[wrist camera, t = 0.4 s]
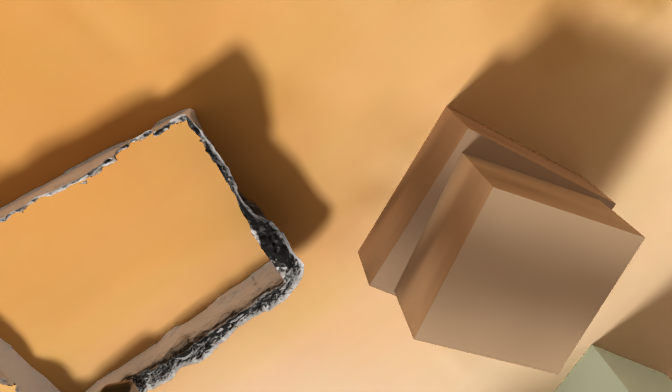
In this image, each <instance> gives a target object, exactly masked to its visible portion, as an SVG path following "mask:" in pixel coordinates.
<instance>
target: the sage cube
mask: <svg viewBox="0 0 672 392" xmlns="http://www.w3.org/2000/svg"><path fill="white" fill-rule="evenodd" d="M555 392H672V380H671V379H670V378H669V377H668V376H667V375H666V374H665V373H662V372H660V371H657V370H655V369H652V368H649V367H647V366H644V365H642V364H639V363H637V362H634V361H632V360H629V359H627V358H624V357H622V356H619V355H617V354H614V353H612V352H609V351H607V350H604V349H602V348H599V347H596V346H594V345H591V346H590V347H589V349H588V350H587V351H586V353H585V354H584V355H583V356H582V358H581V359H580V360H579V361H578V363H577V364H576V365H575V367H574V368H573V369H572V370H571V372H570V373H569V374H568V375H567V377H566V378H565V379H564V381H563V382H562V383H561V384H560V386H559V387H558V388H557V389H556V391H555Z"/></svg>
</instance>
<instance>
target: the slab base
mask: <svg viewBox="0 0 672 392" xmlns="http://www.w3.org/2000/svg"><path fill="white" fill-rule="evenodd" d="M461 153H465V154H468V155H471V156H474V157H477V158H480V159H483V160H486V161H489V162H491V163H494V164H497V165H500V166H503V167H506V168H509V169H512V170H515V171H518V172H521V173H523V174H526V175H529V176H532V177H535V178H538V179H541V180H544V181H547V182H550V183H552V184H555V185H558V186H561V187H564V188H567V189H570V190H573V191H576V192H579V193H581V194H584V195H587V196H590V197H593V198H596V199H599V200H600V201H601V202H603V203H604V204H605V205H606V206H607V207H609V208H610V209H611V210H612V208H613V207H614V206H615V203H614V202H613V201H612V200H611V199H609V198H608V197H607V196H606V195H604V194H603V193H602V192H601V191H599V190H598V189H597V188H596V187H594V186H593V185H592V184H591V183H589V182H588V181H587V180H586V179H584V178H583V177H581V176H580V175H578V174H576V173H574V172H572V171H570V170H568V169H566V168H564V167H562V166H560V165H558V164H556V163H554V162H553V161H551V160H549V159H547V158H545V157H543V156H541V155H539V154H537V153H535V152H533V151H531V150H529V149H528V148H526V147H524V146H522V145H520V144H518V143H516V142H514V141H512V140H510V139H508V138H506V137H504V136H502V135H501V134H499V133H497V132H495V131H493V130H491V129H489V128H487V127H485V126H483V125H481V124H479V123H477V122H476V121H474V120H472V119H470V118H468V117H466V116H464V115H462V114H460V113H458V112H456V111H454V110H452V109H450V108H449V107H447V106H446V108H445V109H444V111H443V113H442V114H441V116H440V118H439V119H438V121H437V123H436V124H435V126H434V128H433V129H432V131H431V133H430V134H429V136H428V137H427V139H426V141H425V142H424V144H423V146H422V147H421V149H420V151H419V152H418V154H417V156H416V157H415V159H414V161H413V162H412V164H411V165H410V167H409V169H408V170H407V172H406V174H405V175H404V177H403V179H402V180H401V182H400V184H399V185H398V187H397V189H396V190H395V192H394V193H393V195H392V197H391V198H390V200H389V202H388V203H387V205H386V207H385V208H384V210H383V212H382V213H381V215H380V217H379V218H378V220H377V221H376V223H375V225H374V226H373V228H372V230H371V231H370V233H369V235H368V236H367V238H366V240H365V241H364V243H363V245H362V246H361V248H360V249H359V251H358V254H359V257H360V259H361V262H362V265H363V268H364V271H365V274H366V277H367V280H368V283H369V286H372V287H374V288H377V289H379V290H382V291H385V292H387V293H390V294H392V295H395V296H396V294H395V292H394V290H395V288H396V286H397V284H398V282H399V280H400V278H401V276H402V274H403V271H404V269H405V267H406V265H407V263H408V261H409V259H410V257H411V255H412V253H413V251H414V249H415V247H416V245H417V243H418V241H419V239H420V237H421V235H422V233H423V231H424V229H425V227H426V225H427V223H428V221H429V219H430V216H431V214H432V212H433V210H434V208H435V206H436V204H437V202H438V200H439V198H440V196H441V194H442V192H443V190H444V188H445V186H446V184H447V182H448V180H449V178H450V176H451V174H452V172H453V170H454V168H455V166H456V164H457V161H458V159H459V157H460V155H461Z"/></svg>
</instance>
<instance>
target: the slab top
mask: <svg viewBox="0 0 672 392" xmlns="http://www.w3.org/2000/svg"><path fill="white" fill-rule="evenodd" d="M644 238H645V237H644V236H643V235H641V234H640V233H639V232H638V231H637V230H635V229H634V228H633V227H632V226H630V225H629V224H628V223H627V222H626V221H624V220H623V219H622V218H621V217H620V216H618V215H617V214H616V213H615V212H614V211H612V210H611V209H610V208H609V207H607V206H606V205H605V204H604V203H603V202H601V201H600V200H599V199H596V198H593V197H590V196H587V195H584V194H581V193H579V192H576V191H573V190H570V189H567V188H564V187H561V186H558V185H555V184H552V183H550V182H547V181H544V180H541V179H538V178H535V177H532V176H529V175H526V174H523V173H521V172H518V171H515V170H512V169H509V168H506V167H503V166H500V165H497V164H494V163H491V162H489V161H486V160H483V159H480V158H477V157H474V156H471V155H468V154H465V153H461V155H460V157H459V159H458V161H457V164H456V166H455V168H454V170H453V172H452V174H451V176H450V178H449V180H448V182H447V184H446V186H445V188H444V190H443V192H442V194H441V196H440V198H439V200H438V202H437V204H436V206H435V208H434V210H433V212H432V214H431V216H430V219H429V221H428V223H427V225H426V227H425V229H424V231H423V233H422V235H421V237H420V239H419V241H418V243H417V245H416V247H415V249H414V251H413V253H412V255H411V257H410V259H409V261H408V263H407V265H406V267H405V269H404V271H403V274H402V276H401V278H400V280H399V282H398V284H397V286H396V288H395V290H394V292H395V294H396V296H397V299H398V301H399V304H400V306H401V309H402V311H403V314H404V316H405V319H406V321H407V324H408V326H409V328H410V331H411V333H412V336H413V338H414V339H415V340H419V341H423V342H427V343H431V344H435V345H439V346H444V347H448V348H452V349H456V350H460V351H464V352H468V353H472V354H477V355H481V356H485V357H489V358H493V359H497V360H501V361H505V362H510V363H514V364H518V365H522V366H526V367H530V368H534V369H538V370H543V371H547V372H551V373H555V374H558V373H559V372H560V370H561V368H562V367H563V365H564V364H565V362H566V361H567V359H568V358H569V356H570V354H571V353H572V351H573V350H574V348H575V347H576V345H577V343H578V342H579V340H580V339H581V337H582V336H583V334H584V332H585V331H586V329H587V328H588V326H589V325H590V323H591V322H592V320H593V318H594V317H595V315H596V314H597V312H598V311H599V309H600V307H601V306H602V304H603V303H604V301H605V300H606V298H607V296H608V295H609V293H610V292H611V290H612V289H613V287H614V285H615V284H616V282H617V281H618V279H619V278H620V276H621V275H622V273H623V271H624V270H625V268H626V267H627V265H628V264H629V262H630V260H631V259H632V257H633V256H634V254H635V253H636V251H637V249H638V248H639V246H640V245H641V243H642V242H643V240H644Z"/></svg>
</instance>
